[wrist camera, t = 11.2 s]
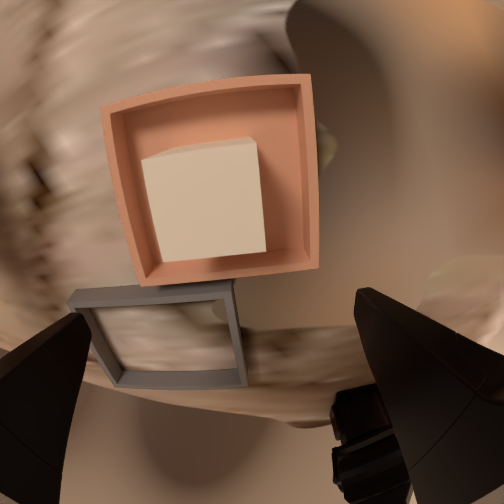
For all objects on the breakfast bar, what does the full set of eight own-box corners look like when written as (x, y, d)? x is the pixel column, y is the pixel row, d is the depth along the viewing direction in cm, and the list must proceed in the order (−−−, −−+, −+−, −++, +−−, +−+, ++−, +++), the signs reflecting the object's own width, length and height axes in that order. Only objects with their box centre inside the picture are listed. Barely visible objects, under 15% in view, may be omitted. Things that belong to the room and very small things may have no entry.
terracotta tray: (300, 80, 15) (310, 74, 13) (310, 252, 20) (318, 268, 18) (116, 108, 15) (100, 107, 13) (149, 269, 20) (140, 286, 18)
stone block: (250, 137, 16) (256, 142, 11) (258, 212, 18) (266, 251, 13) (172, 147, 16) (141, 160, 11) (184, 220, 19) (163, 262, 13)
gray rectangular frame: (231, 276, 21) (230, 290, 19) (247, 371, 26) (248, 387, 24) (76, 289, 21) (66, 302, 19) (119, 373, 26) (114, 387, 24)
